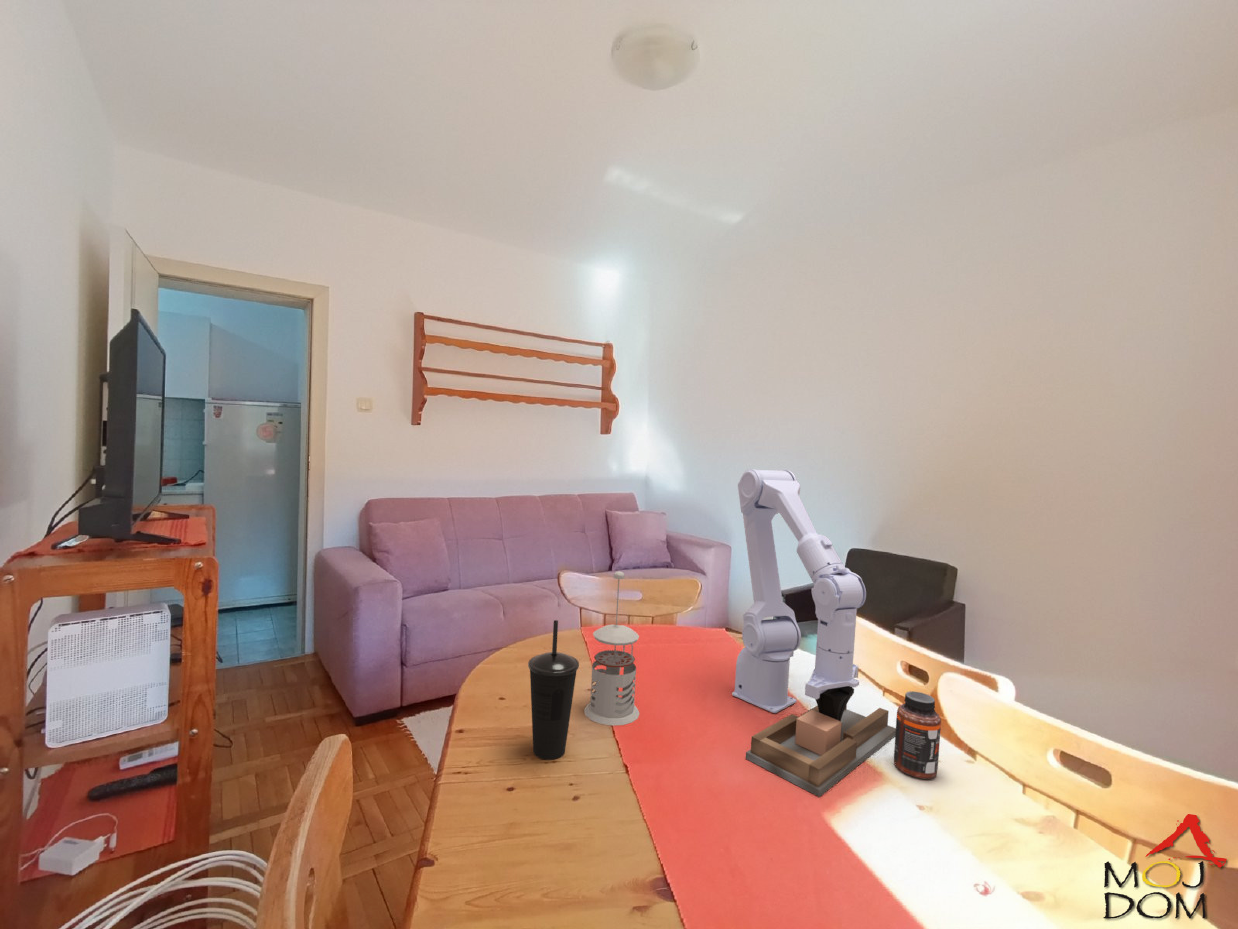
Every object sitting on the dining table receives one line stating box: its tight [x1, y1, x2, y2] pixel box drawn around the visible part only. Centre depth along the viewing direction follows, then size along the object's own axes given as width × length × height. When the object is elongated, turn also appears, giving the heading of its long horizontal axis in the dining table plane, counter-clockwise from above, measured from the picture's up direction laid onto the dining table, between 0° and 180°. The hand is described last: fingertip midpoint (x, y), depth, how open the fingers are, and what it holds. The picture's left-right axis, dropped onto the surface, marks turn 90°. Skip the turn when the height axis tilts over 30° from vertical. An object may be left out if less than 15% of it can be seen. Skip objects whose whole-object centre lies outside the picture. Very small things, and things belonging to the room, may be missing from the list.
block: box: [795, 710, 841, 756], centre depth 89 cm, size 5×5×4 cm
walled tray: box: [745, 704, 896, 798], centre depth 91 cm, size 12×28×4 cm, turn 133°
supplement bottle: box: [893, 691, 942, 780], centre depth 85 cm, size 6×6×11 cm
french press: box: [583, 570, 640, 727], centre depth 99 cm, size 10×12×25 cm
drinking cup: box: [527, 619, 580, 761], centre depth 85 cm, size 8×8×20 cm
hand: (829, 729), depth 91 cm, fingers closed
